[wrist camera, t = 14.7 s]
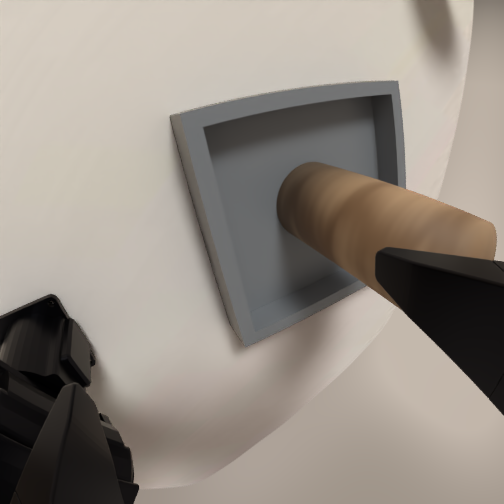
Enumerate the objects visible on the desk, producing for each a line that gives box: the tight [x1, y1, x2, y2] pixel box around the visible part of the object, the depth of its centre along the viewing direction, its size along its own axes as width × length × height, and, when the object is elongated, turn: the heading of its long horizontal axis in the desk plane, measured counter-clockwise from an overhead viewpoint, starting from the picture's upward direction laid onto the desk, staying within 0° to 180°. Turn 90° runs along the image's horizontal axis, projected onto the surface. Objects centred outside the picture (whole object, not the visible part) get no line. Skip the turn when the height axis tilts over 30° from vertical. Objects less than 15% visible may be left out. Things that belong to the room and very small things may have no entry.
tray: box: [170, 81, 406, 347], centre depth 22 cm, size 16×16×3 cm
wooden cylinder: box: [277, 162, 497, 310], centre depth 17 cm, size 6×6×13 cm
